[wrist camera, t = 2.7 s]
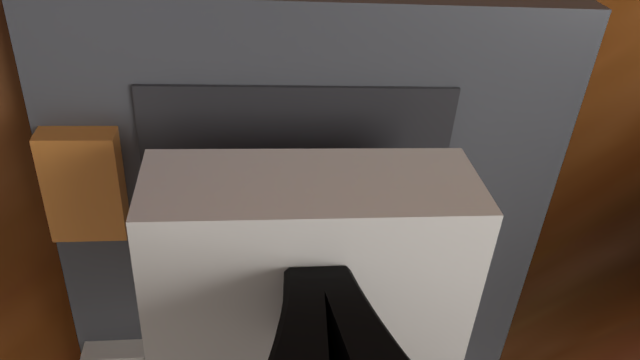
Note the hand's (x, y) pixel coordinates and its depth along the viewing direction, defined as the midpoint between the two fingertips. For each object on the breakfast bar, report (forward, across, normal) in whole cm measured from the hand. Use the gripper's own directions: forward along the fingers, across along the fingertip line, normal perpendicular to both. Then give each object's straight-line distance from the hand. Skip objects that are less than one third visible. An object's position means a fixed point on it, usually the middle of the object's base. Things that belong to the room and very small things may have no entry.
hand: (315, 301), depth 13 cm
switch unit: (+6, 0, +8) cm, 10 cm away
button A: (+3, 0, 0) cm, 3 cm away
